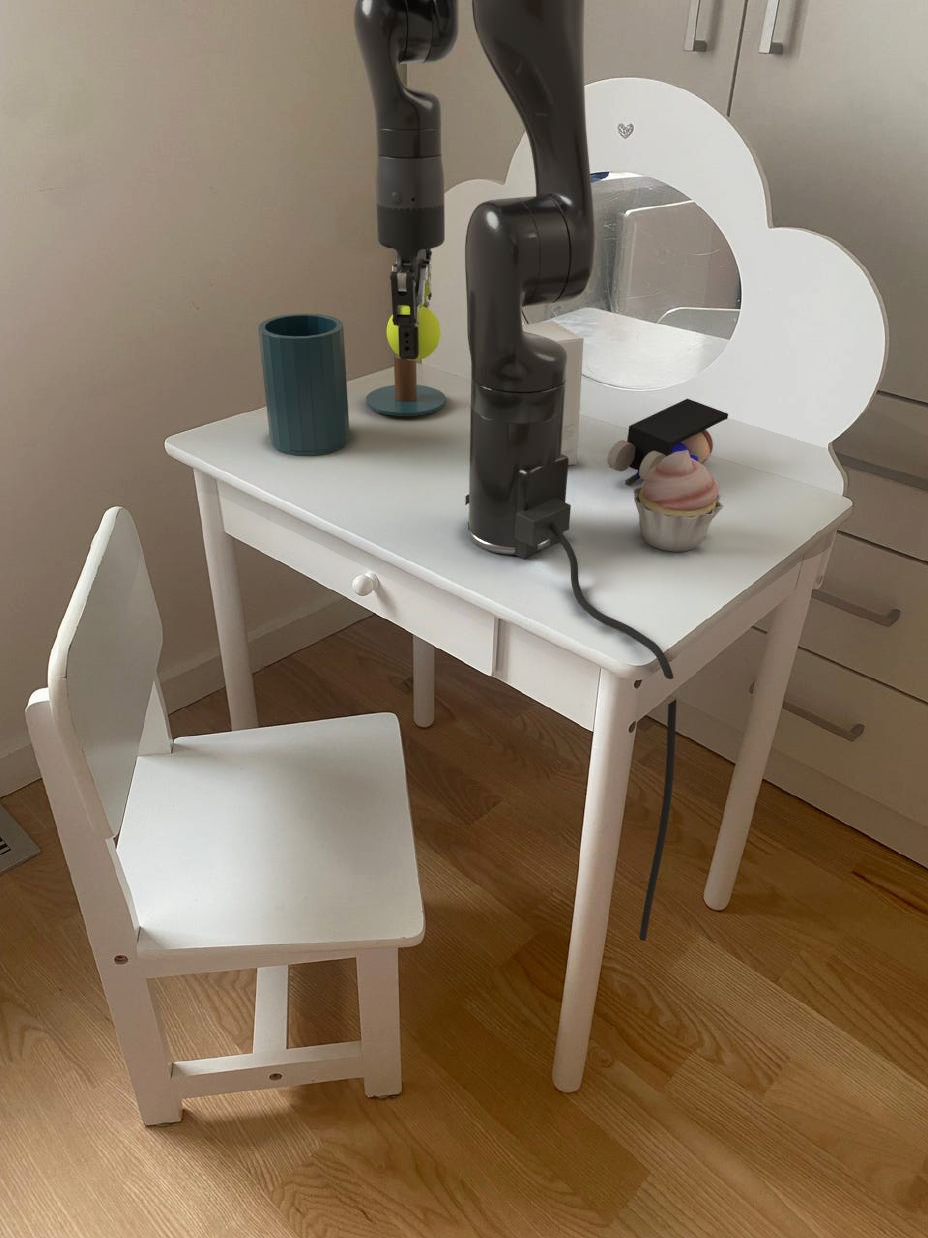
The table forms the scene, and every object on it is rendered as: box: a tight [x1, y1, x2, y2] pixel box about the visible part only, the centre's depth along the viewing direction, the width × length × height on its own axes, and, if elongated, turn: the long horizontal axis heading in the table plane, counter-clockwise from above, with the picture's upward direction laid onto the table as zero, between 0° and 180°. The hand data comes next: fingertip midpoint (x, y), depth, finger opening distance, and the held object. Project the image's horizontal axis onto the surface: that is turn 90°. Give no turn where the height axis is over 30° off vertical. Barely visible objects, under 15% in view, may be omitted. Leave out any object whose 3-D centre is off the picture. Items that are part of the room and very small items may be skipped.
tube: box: [257, 313, 351, 457], centre depth 118 cm, size 10×10×15 cm
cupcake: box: [632, 450, 725, 553], centre depth 99 cm, size 9×9×10 cm
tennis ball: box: [386, 306, 441, 361], centre depth 114 cm, size 6×6×6 cm
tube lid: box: [365, 352, 447, 417], centre depth 131 cm, size 11×11×7 cm
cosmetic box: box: [522, 320, 585, 466], centre depth 115 cm, size 8×7×16 cm
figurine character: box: [607, 398, 729, 486], centre depth 113 cm, size 7×8×15 cm
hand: (413, 349), depth 115 cm, fingers closed on tennis ball, 6 cm apart
